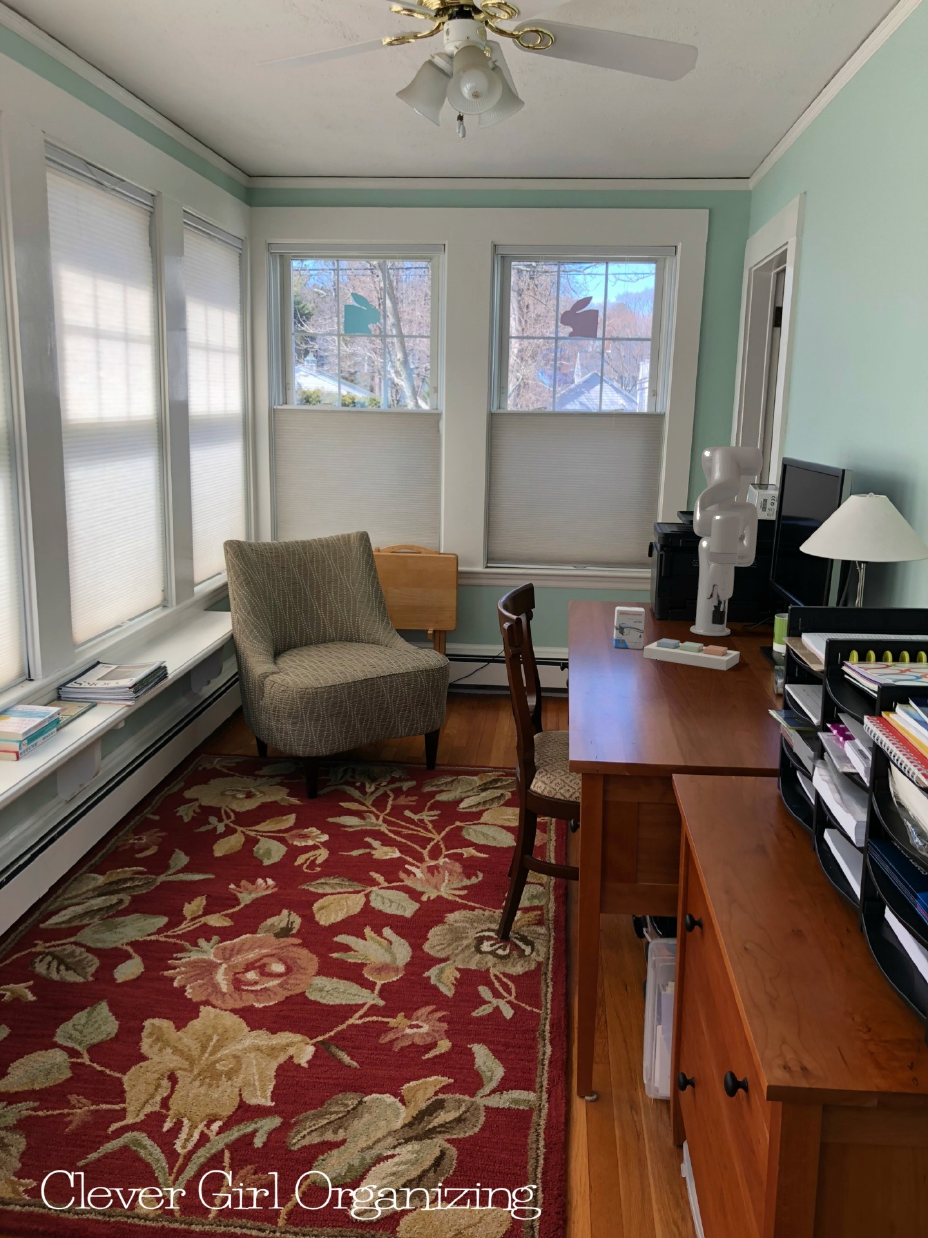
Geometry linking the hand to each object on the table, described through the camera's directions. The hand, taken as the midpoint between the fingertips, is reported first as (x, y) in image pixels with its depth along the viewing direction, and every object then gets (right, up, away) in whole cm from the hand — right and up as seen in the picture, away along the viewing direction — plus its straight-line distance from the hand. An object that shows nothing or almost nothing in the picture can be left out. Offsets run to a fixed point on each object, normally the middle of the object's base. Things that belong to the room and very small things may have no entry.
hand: (718, 623), depth 270 cm
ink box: (-22, -7, +21) cm, 31 cm away
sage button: (-6, -8, +6) cm, 12 cm away
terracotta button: (0, -9, +2) cm, 10 cm away
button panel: (-6, -10, +6) cm, 13 cm away
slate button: (-12, -8, +10) cm, 17 cm away
